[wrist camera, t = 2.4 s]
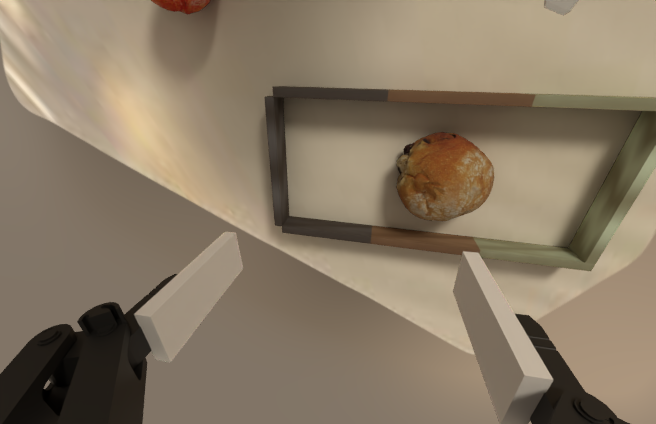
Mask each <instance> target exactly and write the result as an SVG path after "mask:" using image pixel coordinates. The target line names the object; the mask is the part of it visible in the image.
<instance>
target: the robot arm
mask: <svg viewBox="0 0 656 424" xmlns="http://www.w3.org/2000/svg"><path fill="white" fill-rule="evenodd" d="M242 269H243V265H242V260H241V255H240V250H239V246H238V240H237V235H236V233H235V232H224V233H223V234H222V235H221V236H220V237H218V238H217V239H216V240H215V241H214V242H213V243H212V244H211V245H210V246H208V247H207V248H206V249H205V250H204V251H203V252H202V253H201V254H200V255H199V256H197V257H196V258H195V259H194V260H193V261H192V262H191V263H190V264H189V265H188V266H187V267H185V268H184V269H183V270H182V271H181V272H180V273H179V274H174V275H172V276H170V277H168V278H167V279H165V280H163V281H162V282H161V283H160V284H159V285H158V286H157V287H156V288H155V289H153V290H152V291H151V292H150V293H149V295H146V296H145V297H144V298H143V299H142V300H141V301H139V302H138V303H137V304H136V305H135V306H134V307H133V308H131V309H130V310H129V311H128V312H127V313H126V314H125V315H124V314H123V312H122V310H121V308H120V306H119V304H117V303H114V302H109V303H104V304H101V305H98V306H96V307H94V308H92V309H90V310H88V311H87V312H86V313H84V314H83V315H82V316H81V317H80V318H79V320H78V324H79V325H80V327H81V328H82V330H83V331H81V332H74V330H73V329H72V327H71V326H70V325H68V324H60V325H56V326H53V327H51V328H48V329H46V330H44V331H42V332H41V333H39V334H38V335H36V336H35V337H34V338H32V339H31V340H30V341H29V342H28V343H27V344H26V346H25V347H24V348H23V349H22V350H21V351H20V353H19V354H18V355H17V356H16V357H15V358H14V359H13V361H11V363H10V364H9V365H8V366H7V367H6V369H4V371H3V372H2V373H1V374H0V424H142V420H143V408H144V395H145V383H146V371H147V361H146V358H145V357H146V356H147V355H148V354H149V352H150V351H152V353H153V355H154V357H155V359H156V360H161V361H166V362H171V361H172V360H173V359H174V357H175V356H176V355H177V353H178V352H179V351H180V350H181V348H182V347H183V345H184V344H185V343H186V342H187V340H188V339H189V338H190V337H191V335H192V334H193V333H194V331H195V330H196V329H197V328H198V326H199V325H200V323H201V322H202V321H203V320H204V318H205V317H206V316H207V315H208V313H209V312H210V311H211V309H212V308H213V307H214V306H215V304H216V303H217V302H218V300H219V299H220V298H221V296H222V295H223V294H224V293H225V291H226V290H227V288H228V287H229V286H230V285H231V284H232V282H233V281H234V280H235V278H236V277H237V275H238V274H239V273H240V272H241V270H242ZM453 293H454V296H455V298H456V301H457V304H458V307H459V310H460V313H461V316H462V318H463V321H464V324H465V327H466V330H467V333H468V335H469V338H470V341H471V344H472V347H473V350H474V352H475V355H476V358H477V361H478V364H479V366H480V370H481V372H482V375H483V378H484V381H485V384H486V387H487V389H488V392H489V395H490V398H491V401H492V404H493V406H494V409H495V412H496V415H497V418H498V421H499V424H528V423H529V422H530V420H531V423H532V424H630V423H627V422H625V421H623V420H621V419H619V418H617V416H616V415H615V414H614V413H613V412H612V411H611V410H610V409H609V408H608V407H607V405H605V404H604V403H603V402H601V401H599V400H598V399H597V398H595V397H594V396H592V395H590V394H588V393H586V392H585V391H584V389H583V388H582V386H581V385H580V383H579V382H578V380H577V379H576V377H575V376H574V374H573V373H572V371H571V370H570V368H569V367H568V365H567V364H566V362H565V361H564V359H563V358H562V356H561V355H560V354H559V352H558V351H556V348H555V346H554V345H553V343H552V342H551V341H550V340H549V337H548V336H547V334H546V333H545V331H544V330H543V328H542V327H541V326H540V325H539V324H538V323H537V322H536V321H535V320H533V319H532V318H531V317H530V316H529V315H521V314H514V312H513V310H512V309H511V307H510V305H509V304H508V302H507V300H506V298H505V297H504V295H503V293H502V292H501V290H500V288H499V287H498V285H497V283H496V282H495V280H494V278H493V276H492V275H491V273H490V271H489V270H488V268H487V266H486V265H485V263H484V261H483V259H482V258H481V256H480V254H479V253H476V252H464V251H463V253H462V257H461V261H460V265H459V269H458V273H457V277H456V281H455V285H454V289H453ZM48 379H49V381H50V382H51V383H50V384H49V386H48V387H47V388H46V389H43V388H44V386H45V384H46V382H47V381H48Z"/></svg>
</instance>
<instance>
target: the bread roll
mask: <svg viewBox="0 0 656 424" xmlns="http://www.w3.org/2000/svg"><path fill="white" fill-rule="evenodd" d="M396 165H397V166H398V170H399V173H400V175H399V177H398V182H397V186H396V188H397V189H398V193H399V196H400V198H401V200H402V202H403V204H404V205H405V207H406V208H407V209H408V210H409V211H410V212H411V213H412V214H413V215H415V216H417V217H419V218H422V219H426V220H431V221H432V220H438V221H447V220H449V219H451V218H455V217H458V216H461V215H464V214H467V213H470V212H472V211H474V210H476V209H477V208H479V207H480V206H481V205H482V204H483V203H484V202H485V201H486V199H487V198H488V196H489V194H490V192H491V189H492V186H493V181H494V168H493V166H492V163H491V162H490V160H489V159H488V158H487V157H486V155H485V154H484V153H483V152H482V151H480V150H479V148H478V147H477V146H475V145H474V144H473V143H472V142H470V141H468V140H467V139H465V138H463V137H461V136H459V135H457V134H454V133H444V132H439V133H435V134H431V135H428V136H426V137H423V138H421V139H419V140H417V141H416V142H415V143H413V144H409V145H407V146H405V148H404V155H402V156H401V157H400V158H399V159H398V160H397V164H396ZM408 173H409V174H408Z"/></svg>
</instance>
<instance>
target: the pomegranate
mask: <svg viewBox="0 0 656 424" xmlns="http://www.w3.org/2000/svg"><path fill="white" fill-rule="evenodd" d="M151 1H153V2H154V3H155V4H157V5H159V6H160V7H162V8H165V9H167V10H170V11H180V12H183V13H186V14H190V13H194V12H198V11H200V10H201V9H202V8H204V7H205V6H206V5H207V4H208V3H209V2H210V0H151Z"/></svg>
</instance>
